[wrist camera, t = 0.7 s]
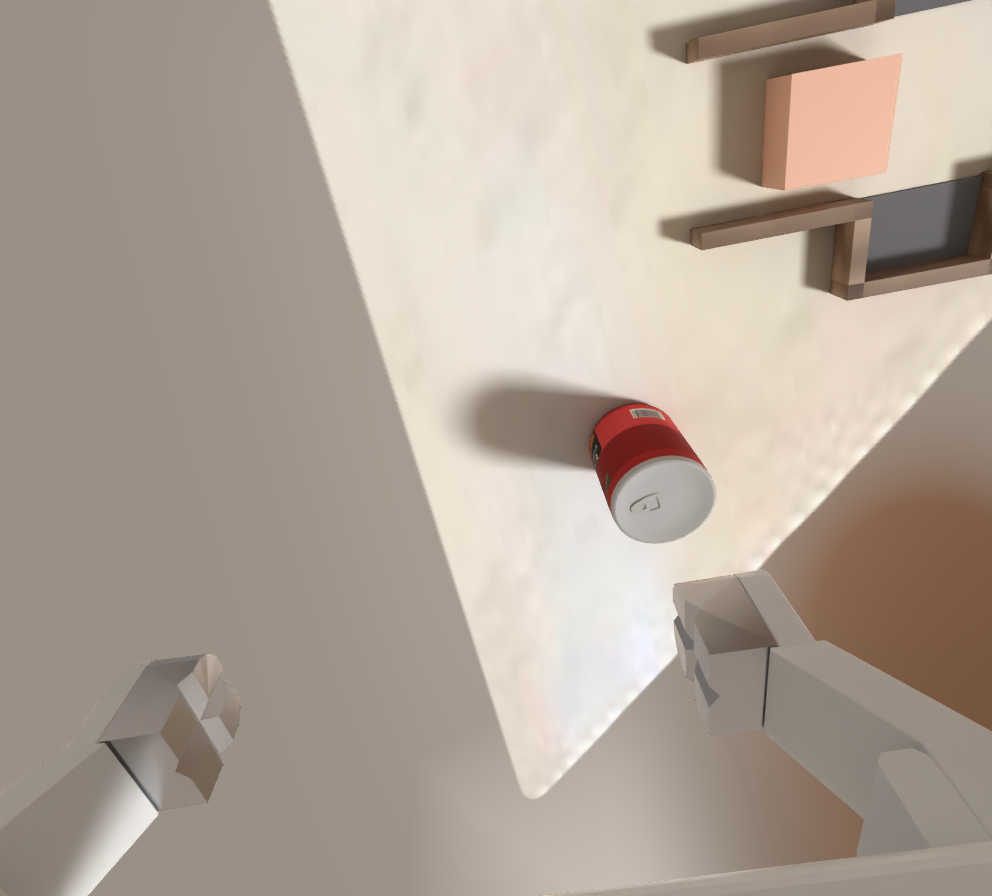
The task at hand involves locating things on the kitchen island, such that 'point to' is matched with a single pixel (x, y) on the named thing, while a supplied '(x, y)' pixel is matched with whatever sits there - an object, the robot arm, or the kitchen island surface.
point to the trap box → (874, 220)
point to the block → (829, 123)
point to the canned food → (650, 475)
